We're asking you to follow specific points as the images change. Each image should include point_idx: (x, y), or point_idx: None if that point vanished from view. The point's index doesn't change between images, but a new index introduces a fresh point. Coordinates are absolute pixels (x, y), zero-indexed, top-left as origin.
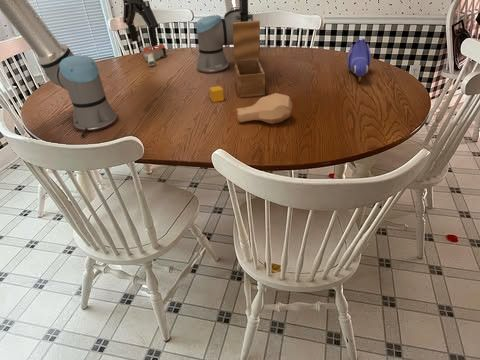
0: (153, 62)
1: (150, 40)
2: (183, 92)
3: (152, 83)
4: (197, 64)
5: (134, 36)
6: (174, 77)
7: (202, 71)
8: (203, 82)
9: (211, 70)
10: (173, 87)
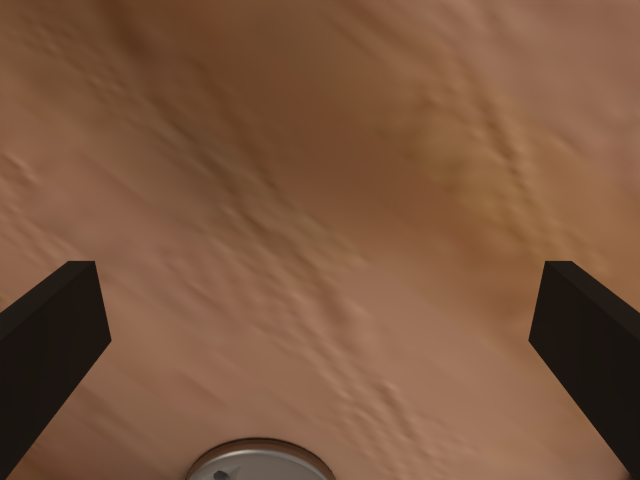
0: None
1: (39, 302)
2: (96, 211)
3: (374, 201)
4: (307, 477)
5: (569, 344)
6: (332, 328)
7: (253, 443)
8: (137, 358)
9: (203, 464)
10: (209, 229)
